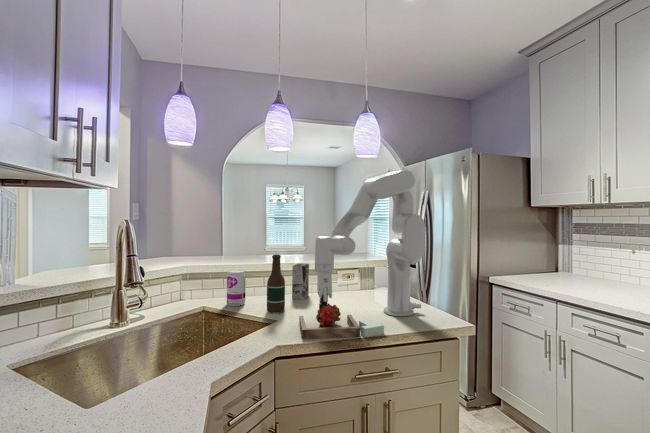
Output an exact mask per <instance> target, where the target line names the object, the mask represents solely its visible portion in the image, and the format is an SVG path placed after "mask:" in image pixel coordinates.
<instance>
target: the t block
mask: <svg viewBox="0 0 650 433" xmlns="http://www.w3.org/2000/svg"><path fill="white" fill-rule="evenodd" d="M358 322H359V323H358V325H359V327H360V336H362V337H363V338H369V337H373V336H380V335H384V334H385V325H384V324H382V323H379V322H378V323H371V322H370V321H368V320H366V319H364V320H358Z"/></svg>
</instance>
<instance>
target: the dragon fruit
mask: <svg viewBox="0 0 650 433" xmlns="http://www.w3.org/2000/svg"><path fill="white" fill-rule="evenodd" d="M341 315H342V313H341V311H340V308H339V307H338V306H337V305H336V304H333V305H331V303H328V305H327V306H324V305H323V306H322V308H320V309H319V308H318V310H317V313H316V316H315V319H316V321H317V323H319V327H327V326H328V325H330V327H334V326H335V324H336V322H339V321H341Z"/></svg>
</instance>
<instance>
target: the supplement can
mask: <svg viewBox="0 0 650 433" xmlns="http://www.w3.org/2000/svg"><path fill="white" fill-rule="evenodd" d="M246 276H247V275H246V273H245V270H242V269H232V270H229V271H228V272H227V274H226V304H227V306H229V307H230V306H231V307H240V305H241V306H243V305H244V304H246V283H247V282H246Z"/></svg>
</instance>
